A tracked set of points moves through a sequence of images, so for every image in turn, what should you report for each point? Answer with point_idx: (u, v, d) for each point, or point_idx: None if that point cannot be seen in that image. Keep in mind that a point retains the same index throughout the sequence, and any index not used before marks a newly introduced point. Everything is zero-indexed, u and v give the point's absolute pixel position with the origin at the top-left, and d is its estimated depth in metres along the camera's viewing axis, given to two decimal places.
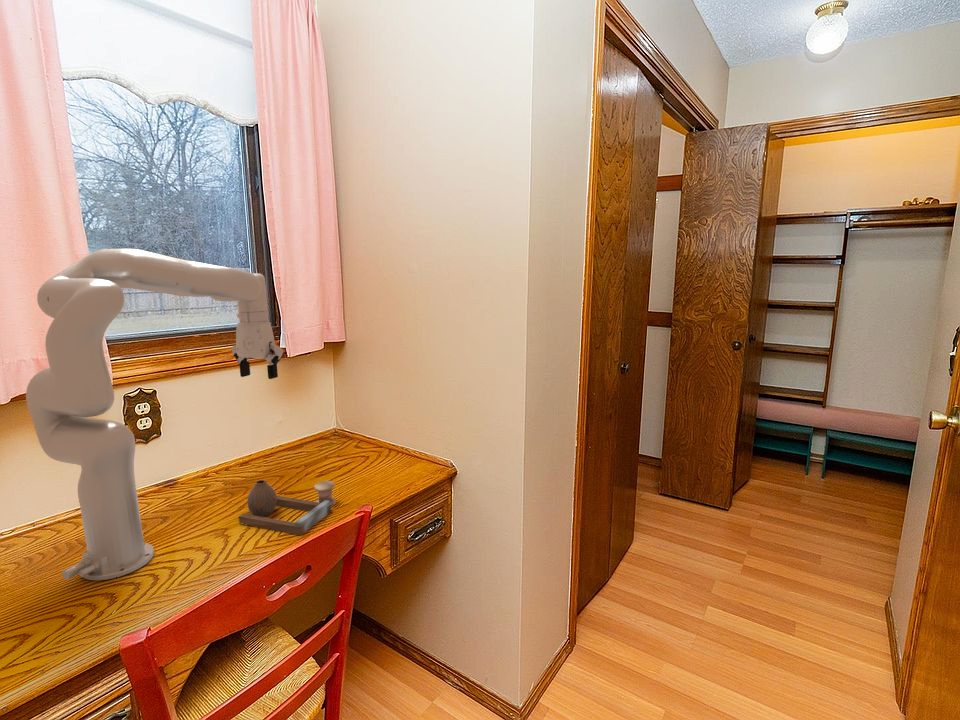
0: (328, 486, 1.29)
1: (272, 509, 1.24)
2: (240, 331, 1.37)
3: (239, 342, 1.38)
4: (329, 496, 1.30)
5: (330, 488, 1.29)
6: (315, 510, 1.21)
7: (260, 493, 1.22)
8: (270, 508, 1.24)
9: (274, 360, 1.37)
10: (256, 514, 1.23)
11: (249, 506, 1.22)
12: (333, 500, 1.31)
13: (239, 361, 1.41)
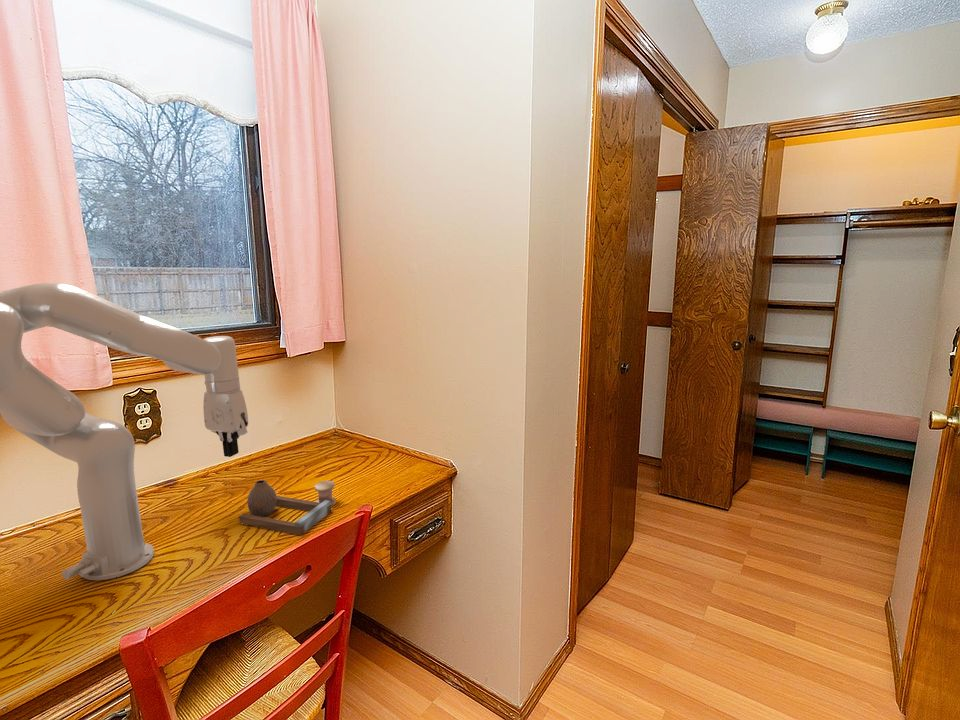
0: (328, 486, 1.29)
1: (272, 509, 1.24)
2: (208, 402, 1.22)
3: (206, 413, 1.22)
4: (329, 496, 1.30)
5: (330, 488, 1.29)
6: (315, 510, 1.21)
7: (260, 493, 1.22)
8: (270, 508, 1.24)
9: (233, 437, 1.24)
10: (256, 514, 1.23)
11: (249, 506, 1.22)
12: (333, 500, 1.31)
13: (222, 438, 1.24)
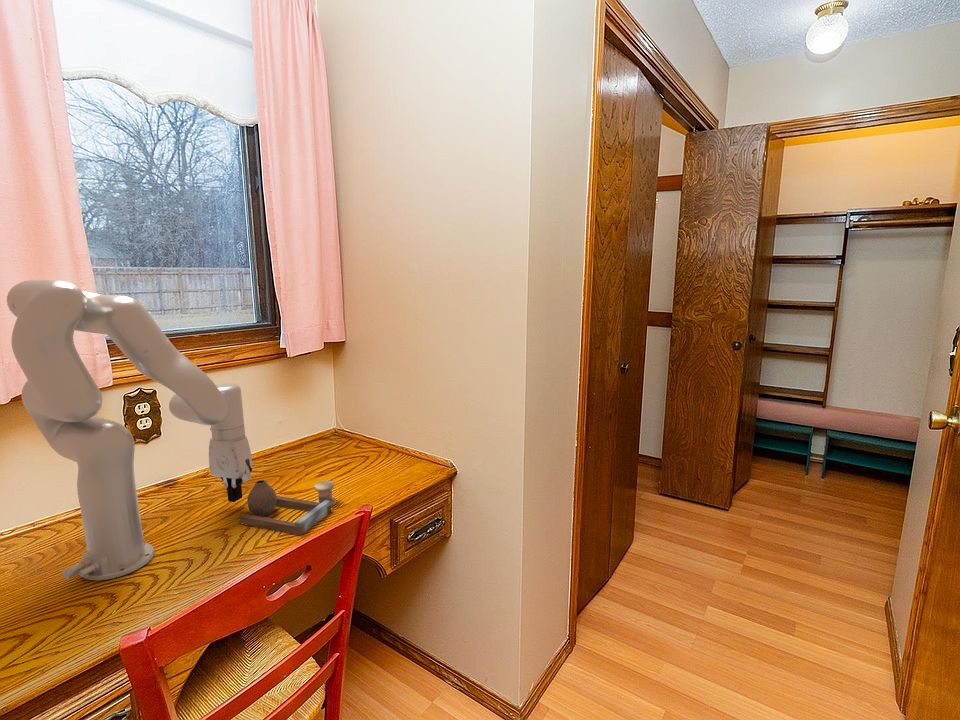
0: (328, 486, 1.29)
1: (272, 509, 1.24)
2: (213, 448, 1.23)
3: (212, 460, 1.24)
4: (329, 496, 1.30)
5: (330, 488, 1.29)
6: (315, 510, 1.21)
7: (260, 493, 1.22)
8: (270, 508, 1.24)
9: (237, 482, 1.26)
10: (256, 514, 1.23)
11: (249, 506, 1.22)
12: (333, 500, 1.31)
13: (226, 484, 1.26)
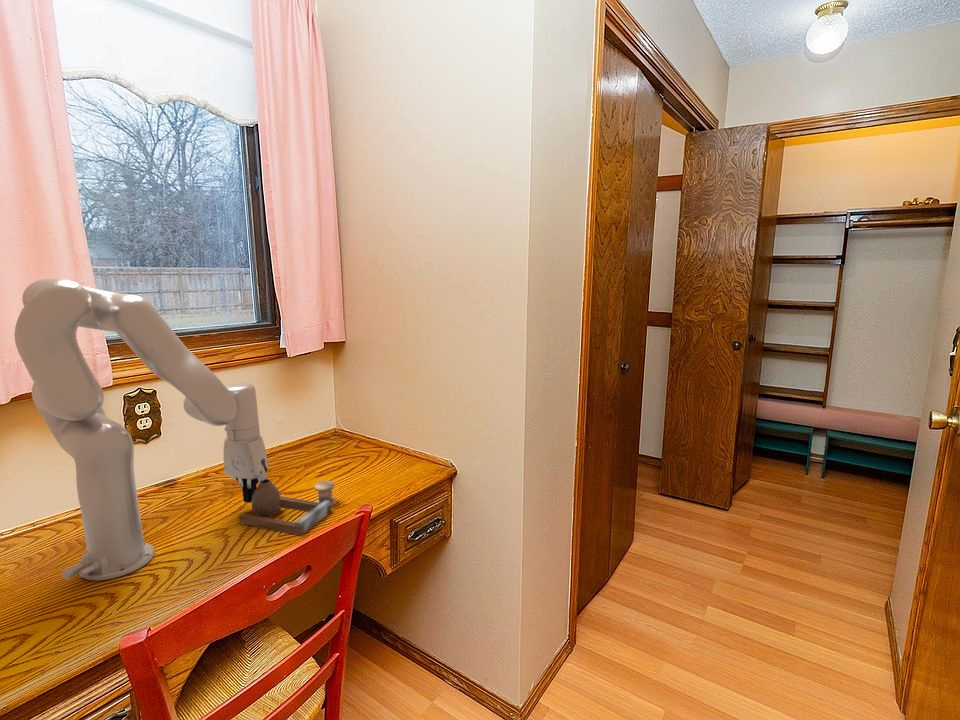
0: (328, 486, 1.29)
1: (275, 509, 1.24)
2: (228, 449, 1.22)
3: (227, 460, 1.23)
4: (329, 496, 1.30)
5: (330, 488, 1.29)
6: (315, 510, 1.21)
7: (264, 493, 1.22)
8: (273, 508, 1.23)
9: (253, 483, 1.25)
10: (259, 513, 1.23)
11: (253, 505, 1.22)
12: (333, 500, 1.31)
13: (242, 484, 1.25)
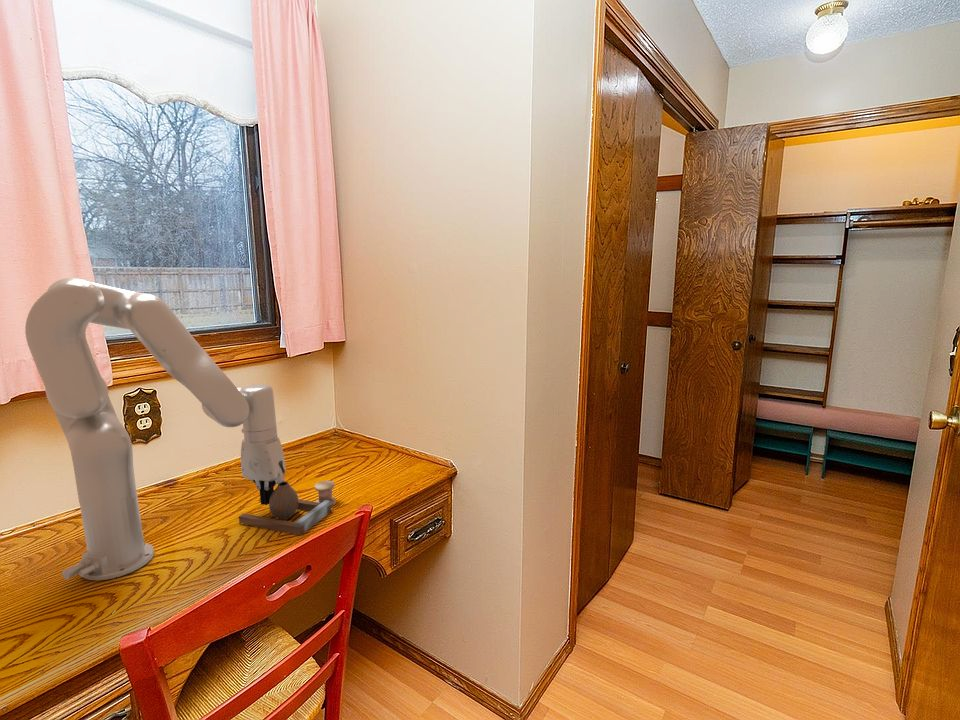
0: (328, 486, 1.29)
1: (293, 512, 1.23)
2: (245, 450, 1.21)
3: (244, 462, 1.22)
4: (329, 496, 1.30)
5: (330, 488, 1.29)
6: (315, 510, 1.21)
7: (282, 495, 1.21)
8: (291, 510, 1.22)
9: (270, 485, 1.23)
10: (277, 516, 1.21)
11: (271, 508, 1.21)
12: (333, 500, 1.31)
13: (259, 486, 1.24)
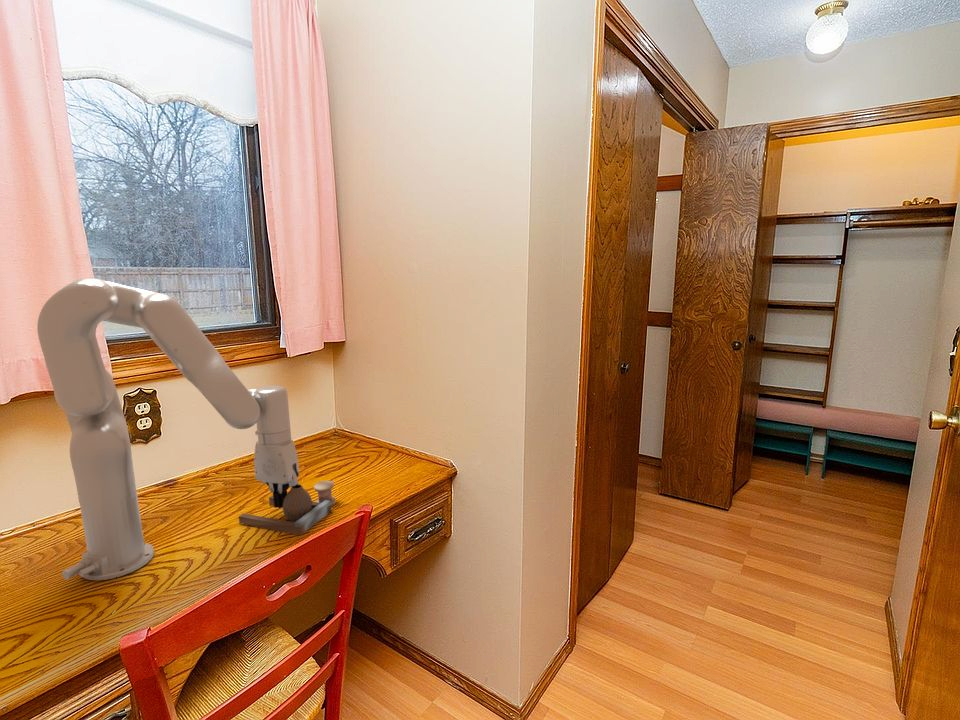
0: (328, 486, 1.29)
1: None
2: (259, 453, 1.19)
3: (258, 465, 1.20)
4: (329, 496, 1.30)
5: (330, 488, 1.29)
6: (315, 510, 1.21)
7: (296, 498, 1.19)
8: (305, 514, 1.20)
9: (284, 488, 1.22)
10: (291, 519, 1.20)
11: (284, 511, 1.20)
12: (333, 499, 1.31)
13: (272, 489, 1.22)
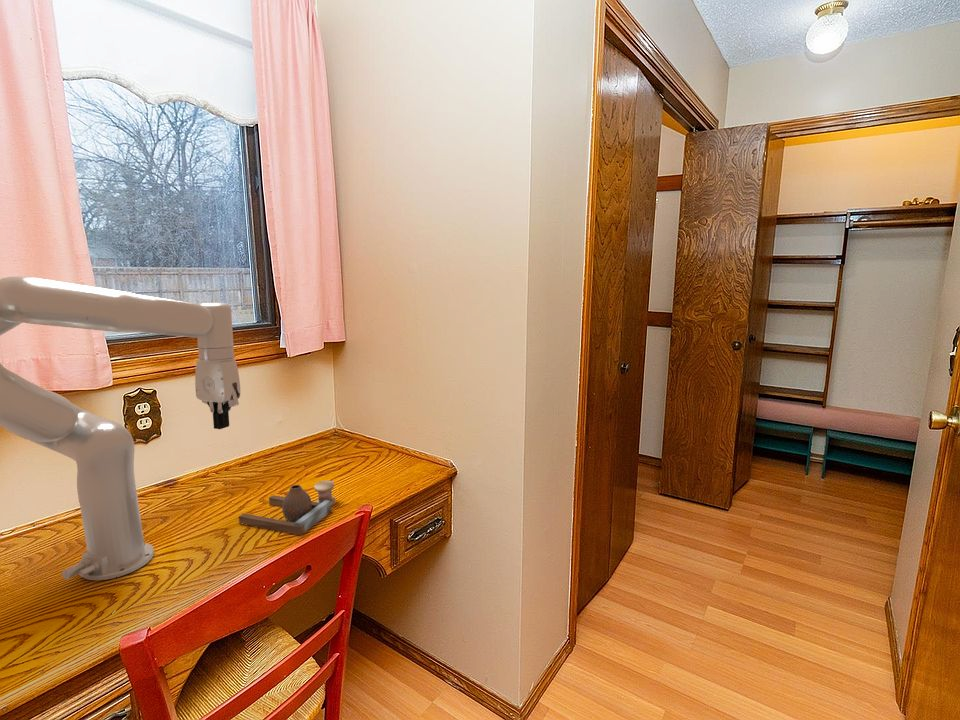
0: (329, 486, 1.29)
1: None
2: (200, 370, 1.17)
3: (198, 382, 1.18)
4: (329, 495, 1.30)
5: (331, 487, 1.29)
6: (315, 510, 1.21)
7: (295, 498, 1.19)
8: (305, 513, 1.20)
9: (224, 408, 1.19)
10: (291, 520, 1.20)
11: (284, 511, 1.20)
12: (333, 499, 1.31)
13: (213, 409, 1.20)
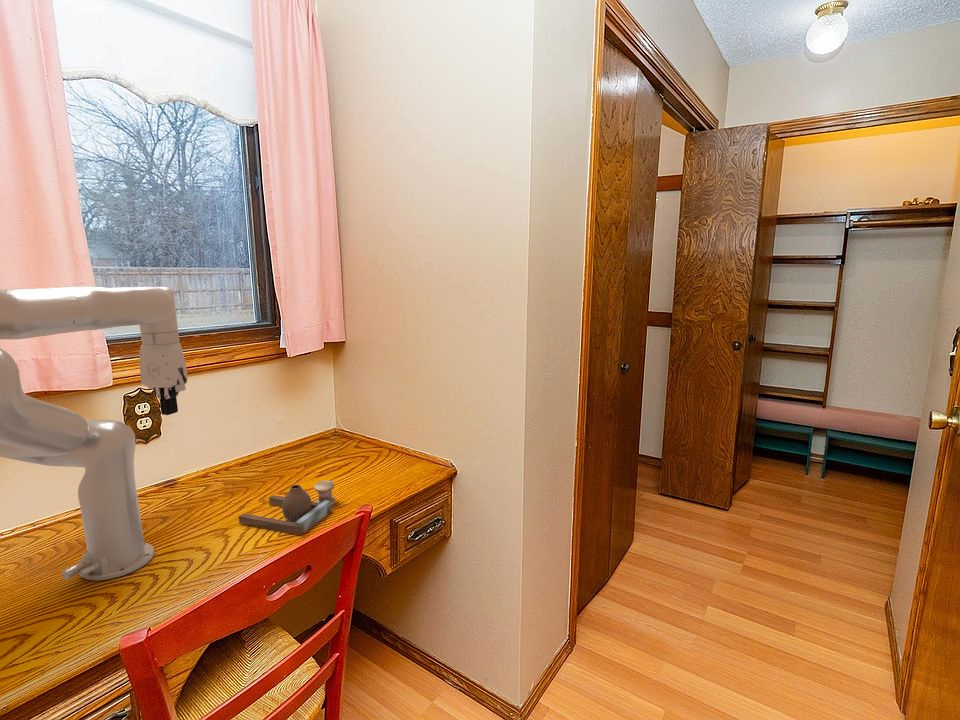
0: (329, 485, 1.29)
1: None
2: (143, 355, 1.16)
3: (143, 368, 1.16)
4: (330, 495, 1.30)
5: (332, 487, 1.29)
6: (315, 510, 1.21)
7: (295, 498, 1.19)
8: (305, 513, 1.20)
9: (171, 393, 1.18)
10: (291, 520, 1.20)
11: (284, 511, 1.20)
12: (333, 498, 1.32)
13: (159, 395, 1.18)
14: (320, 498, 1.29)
